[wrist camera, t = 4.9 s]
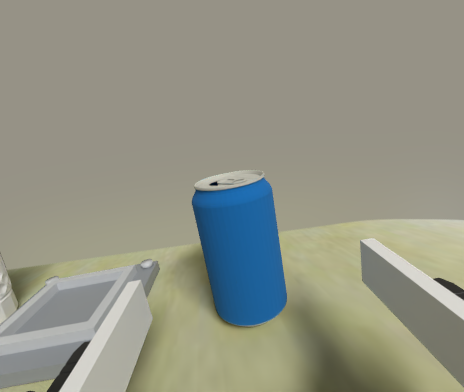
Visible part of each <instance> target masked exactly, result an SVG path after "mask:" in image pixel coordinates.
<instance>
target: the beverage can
mask: <svg viewBox="0 0 464 392" xmlns="http://www.w3.org/2000/svg"><path fill="white" fill-rule="evenodd" d="M194 188H195V189H196V192H195V194H194V196H193V199H192V205H193V210H194V214H195V218H196V223H197V227H198V231H199V236H200V240H201V245H202V249H203V254H204V258H205V263H206V267H207V271H208V276H209V280H210V285H211V289H212V293H213V298H214V302H215V307H216V310H217V313H218V314H219V316H220V317H221V318H222V319H223V320H225V321H226V322H228V323H231V324H234V325H238V326H246V327H252V326H258V325H261V324H264V323H266V322H268V321H270V320H272V319H273V318H275V317H276V316H277V315H279V314H280V313H281V312H282V310H283V309H284V307H285V305H286V302H287V293H286V286H285V279H284V272H283V265H282V258H281V250H280V243H279V236H278V229H277V222H276V215H275V208H274V201H273V194H272V188H271V186H270V184H269V183H268V182H267V181H266V180H265V179H264V172H262V171H258V170H245V171H237V172H230V173H224V174H220V175H215V176H212V177H209V178H205V179H202V180H200V181H198V182H196V183H195V184H194Z"/></svg>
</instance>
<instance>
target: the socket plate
mask: <svg viewBox="0 0 464 392" xmlns="http://www.w3.org/2000/svg"><path fill="white" fill-rule="evenodd" d="M159 270H160V268H159V265H158V261H154V262H152V259H147V260H144V261H142V262H141V264H138V265H131V266H125V267H120V268H114V269H109V270H104V271H98V272H93V273H87V274H82V275H76V276H71V277H65V278H60V279H59V277H58V276H54V277H51V278H49V279H47V280H46V281H45V283H46V285H45V286H44V287H43V288H42V289H40V290H39V291H38V292H37V293H36V294H35V295H33V296H32V297H31V298H30V299H29V300H28V301H27V302H25V303H24V304H23V305H22V306H21V307H20V308H18V309H17V310H16V311H15V312H14V313H13V314H11V315H10V316H9V317H8V318H7V319H6V320H5V321H3V322H2V323H1V324H0V388H5V387H11V386H16V385H22V384H27V383H33V382H38V381H44V380H49V379H54V378H56V377H57V376H58V375H59V374H60V371H61V370H62V368H63V367H64V366H65V365H66V362H67V361H68V359H69V358H70V357H71V355H72V354H73V352H74V351H75V350H76V349H77V348H78V347H80V346H81V345H82V344H83V343H84V342H88V341H91V340H92V339H93V337H94V335H95V334H96V332H97V331H98V329H99V328H100V326H101V324H102V323H103V321H104V320H105V318H106V316H107V315H108V313H109V312H110V310H111V308H112V307H113V305H114V304H115V302H116V301H117V299H118V297H119V296H120V294H121V293H122V291H123V289H124V288H125V286H126V285H127V283H128V282H131V281H137V280H141V282H142V285H143V288H144V292H145V295H146V298H147V296H148V294H149V292H150V290H151V287H152V285H153V283H154V281H155V278H156V276H157V274H158V272H159Z"/></svg>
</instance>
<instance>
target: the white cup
mask: <svg viewBox="0 0 464 392" xmlns="http://www.w3.org/2000/svg"><path fill="white" fill-rule="evenodd" d="M11 287H12V286H11V281H10V278H9V276H8V274H7V269H6V266H5V264H4V261H3V258H2V256H1V253H0V324H1V323H2V322H3V321H5V320H6V319H7V318H8V317H9V316H10V315H11V314H13V313H14V312H15V311H16V310H17V307H18V302H17V299H16V297H15V294H14V292H13V289H12V288H11Z"/></svg>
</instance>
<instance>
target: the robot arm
mask: <svg viewBox="0 0 464 392" xmlns="http://www.w3.org/2000/svg"><path fill="white" fill-rule="evenodd" d="M360 246H361V266H362V281H363V282H364V283H365V284H366V285H367V286H368V288H369V289H370V290H371V291H372V292H373V293H374V294H375V295H376V296H377V297H378V298H379V299H380V300H381V301H382V302H383V303H384V304H385V305H386V306H387V307H388V309H389V310H390V311H391V312H392V313H393V314H394V315H395V316H396V317H397V318H398V319H399V320H400V321H401V322H402V323H403V324H404V325H405V326H406V327H407V328H408V330H409V331H410V332H411V333H412V334H413V335H414V336H415V337H416V338H417V339H418V340H419V341H420V342H421V343H422V344H423V345H424V346H425V347H426V348H427V349H428V351H429V352H430V353H431V354H432V355H433V356H434V357H435V358H436V359H437V360H438V361H439V362H440V363H441V364H442V365H443V366H444V367H445V368H446V369H447V370H448V371H449V373H450V374H451V375H452V376H453V377H454V378H455V379H456V380H457V381H458V382H459V383H460V384H461V385H462V386H463V387H464V290H463V289H461V288H460V287H458V286H457V285H455V284H454V283H451V282H449V281H446V280H444V279H441V278H435V279H432V278H430V277H429V276H427V275H426V274H425V273H423V272H422V271H420V270H419V269H417V268H416V267H414V266H413V265H412V264H410V263H409V262H407V261H406V260H404V259H403V258H401V257H400V256H398V255H397V254H396V253H394V252H393V251H391V250H390V249H388V248H387V247H385V246H384V245H383V244H381V243H380V242H378V241H377V240H375V239H374V238H370V239H365V240H360ZM152 319H153V318H152V314H151V311H150V308H149V305H148V301H147V298H146V295H145V292H144V288H143V285H142V282H141V280H137V281H131V282H128V283H127V285H126V286H125V288H124V289H123V291H122V293H121V294H120V296H119V297H118V299H117V301H116V302H115V304H114V305H113V307H112V308H111V310H110V312H109V313H108V315H107V316H106V318H105V320H104V321H103V323H102V324H101V326H100V328H99V329H98V331H97V332H96V334H95V335H94V337H93V339H92V340H91V341H88V342H84V343H83V344H82V345H81V346H80V347H78V348H77V349H76V350H75V351H74V352H73V354H72V355H71V357H70V358H69V359H68V361H67V362H66V365H65V366H64V367H63V368H62V370H61V371H60V374H59V375H58V376H57V377H56V379H55V380H54V382H53V383H52V385H51V386H50V387H49V389H48V390H47V392H126V389H127V386H128V383H129V381H130V378H131V375H132V373H133V370H134V367H135V365H136V362H137V359H138V357H139V354H140V351H141V349H142V346H143V343H144V341H145V338H146V335H147V333H148V330H149V327H150V325H151V322H152ZM28 392H34V391H28Z"/></svg>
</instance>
